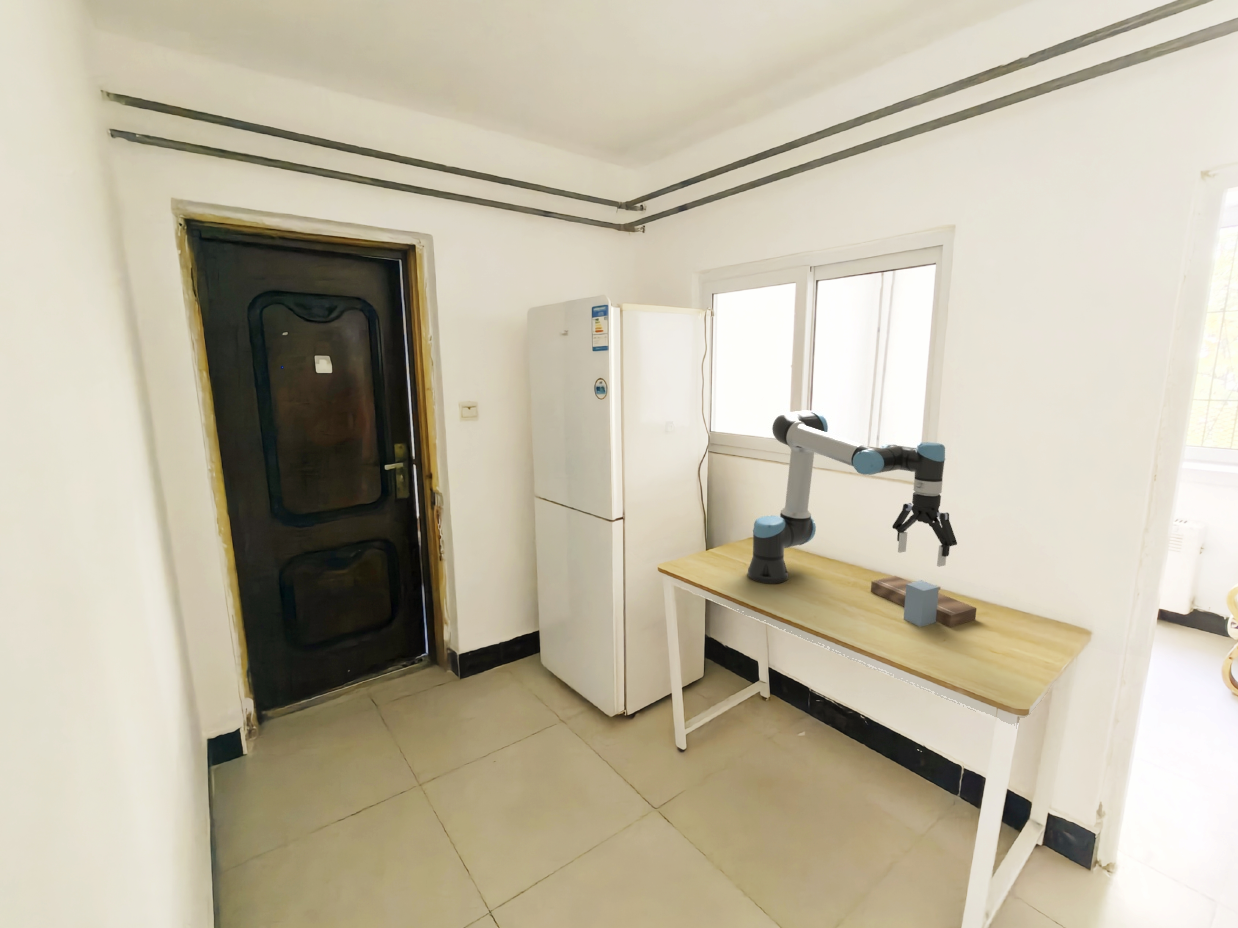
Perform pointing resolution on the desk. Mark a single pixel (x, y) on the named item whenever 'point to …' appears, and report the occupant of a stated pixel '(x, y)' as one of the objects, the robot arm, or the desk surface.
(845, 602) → the desk surface
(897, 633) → the desk surface
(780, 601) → the desk surface
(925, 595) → the pale blue block
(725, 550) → the desk surface
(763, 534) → the robot arm
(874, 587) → the plank
